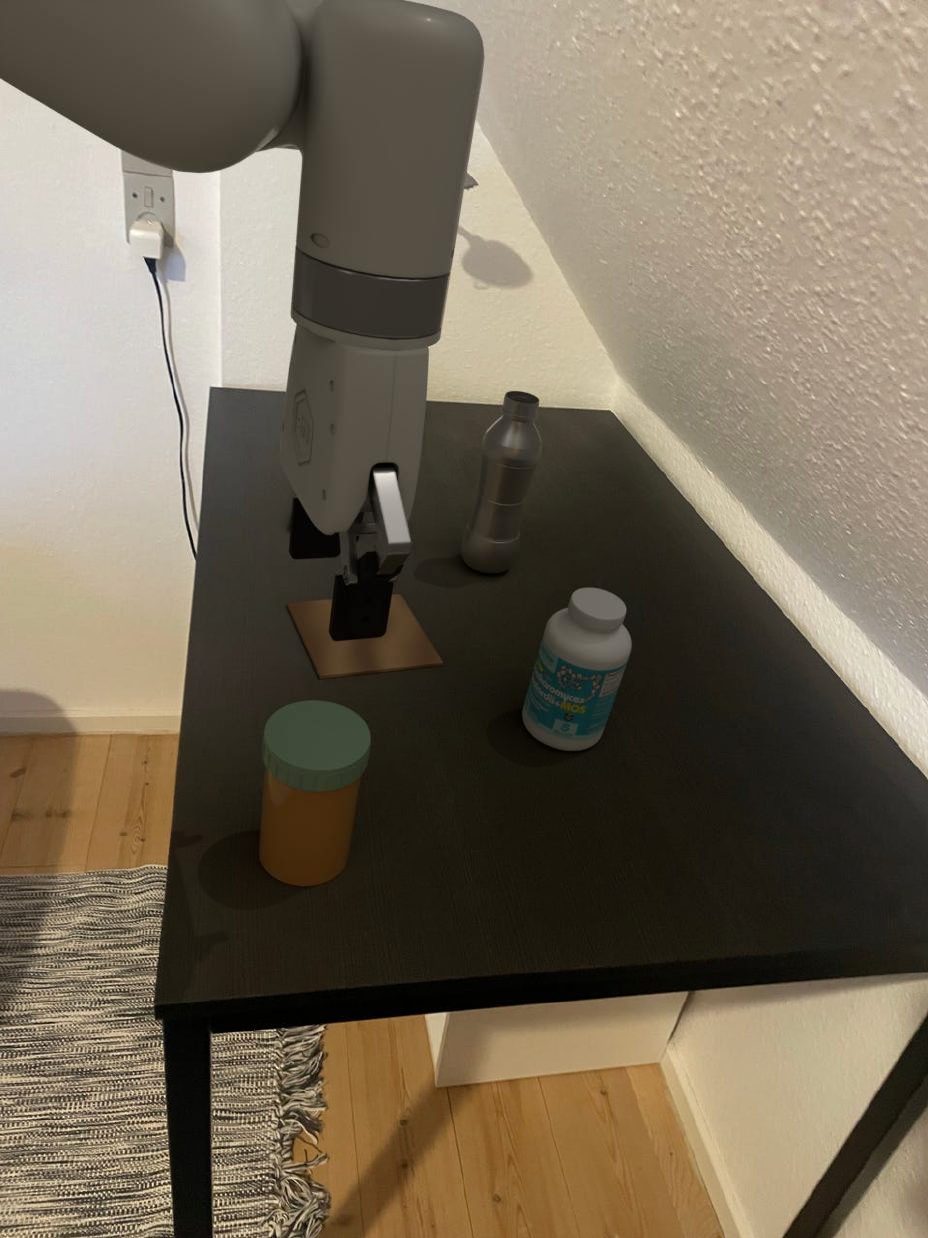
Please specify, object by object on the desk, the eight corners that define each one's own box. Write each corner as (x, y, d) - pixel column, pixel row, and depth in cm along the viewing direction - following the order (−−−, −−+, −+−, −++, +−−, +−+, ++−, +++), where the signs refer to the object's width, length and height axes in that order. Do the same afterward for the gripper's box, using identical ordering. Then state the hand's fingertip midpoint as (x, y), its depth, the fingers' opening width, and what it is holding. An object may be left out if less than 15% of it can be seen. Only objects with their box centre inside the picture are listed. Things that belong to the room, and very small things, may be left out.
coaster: (319, 679, 84) (320, 675, 84) (286, 605, 93) (286, 602, 93) (442, 665, 89) (443, 662, 89) (400, 597, 98) (400, 593, 98)
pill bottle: (503, 721, 84) (536, 593, 77) (553, 691, 89) (588, 569, 82) (569, 767, 80) (610, 638, 73) (617, 733, 85) (659, 609, 78)
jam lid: (264, 794, 59) (266, 772, 58) (258, 721, 64) (260, 699, 63) (375, 791, 61) (379, 769, 60) (360, 720, 66) (363, 699, 65)
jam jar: (260, 889, 64) (270, 774, 58) (256, 820, 69) (265, 708, 64) (354, 884, 66) (372, 771, 60) (343, 817, 71) (359, 707, 65)
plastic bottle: (445, 561, 106) (477, 391, 95) (482, 545, 111) (517, 381, 100) (489, 587, 103) (527, 414, 92) (525, 569, 108) (566, 403, 97)
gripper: (254, 241, 51) (239, 525, 61) (349, 354, 38) (312, 692, 48) (384, 253, 54) (351, 521, 64) (512, 361, 42) (447, 676, 51)
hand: (334, 593), depth 56 cm, fingers open, 8 cm apart
